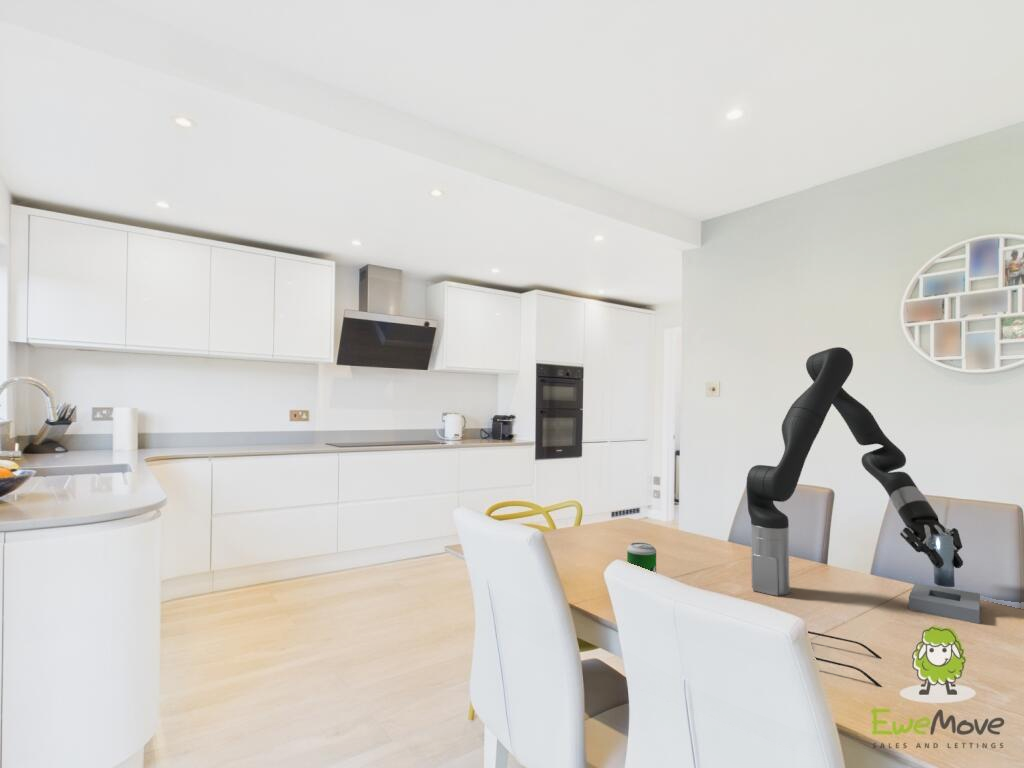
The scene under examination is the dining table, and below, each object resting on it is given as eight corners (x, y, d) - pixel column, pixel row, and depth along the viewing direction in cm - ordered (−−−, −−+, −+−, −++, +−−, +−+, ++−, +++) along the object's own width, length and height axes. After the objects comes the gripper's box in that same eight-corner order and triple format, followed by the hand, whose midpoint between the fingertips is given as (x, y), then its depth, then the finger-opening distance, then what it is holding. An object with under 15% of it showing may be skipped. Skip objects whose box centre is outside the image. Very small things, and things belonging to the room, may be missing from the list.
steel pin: (954, 588, 130) (952, 538, 131) (933, 584, 133) (931, 535, 134) (955, 584, 133) (953, 535, 134) (934, 580, 136) (933, 533, 137)
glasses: (787, 639, 114) (786, 615, 114) (881, 660, 104) (881, 633, 105) (776, 663, 102) (776, 636, 103) (882, 689, 93) (881, 660, 93)
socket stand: (979, 623, 123) (978, 610, 123) (909, 609, 131) (908, 597, 131) (980, 605, 135) (979, 593, 135) (915, 593, 143) (915, 582, 143)
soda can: (651, 597, 138) (651, 549, 138) (623, 591, 142) (623, 545, 142) (659, 589, 144) (659, 544, 145) (632, 584, 148) (632, 540, 149)
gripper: (892, 499, 142) (928, 558, 129) (947, 499, 142) (988, 558, 129) (880, 515, 147) (913, 573, 134) (933, 516, 147) (971, 574, 134)
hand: (950, 566), depth 132 cm, fingers closed on steel pin, 4 cm apart
